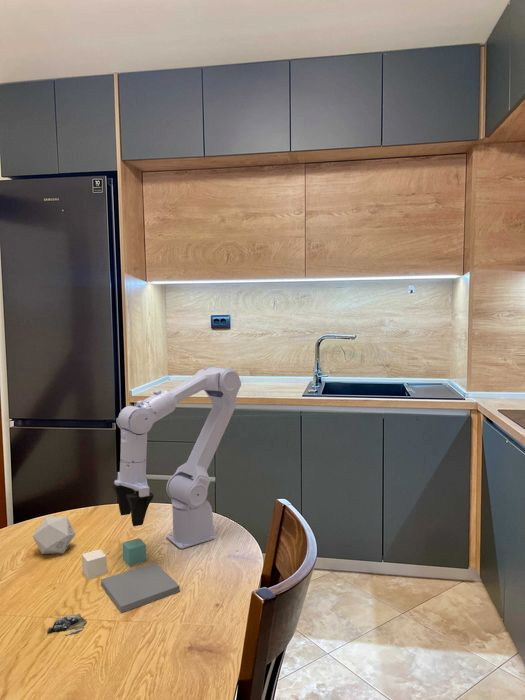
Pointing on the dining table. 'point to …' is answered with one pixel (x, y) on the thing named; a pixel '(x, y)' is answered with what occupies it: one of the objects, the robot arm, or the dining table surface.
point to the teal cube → (134, 552)
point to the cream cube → (94, 564)
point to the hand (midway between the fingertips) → (131, 519)
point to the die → (54, 535)
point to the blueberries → (68, 624)
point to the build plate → (139, 586)
